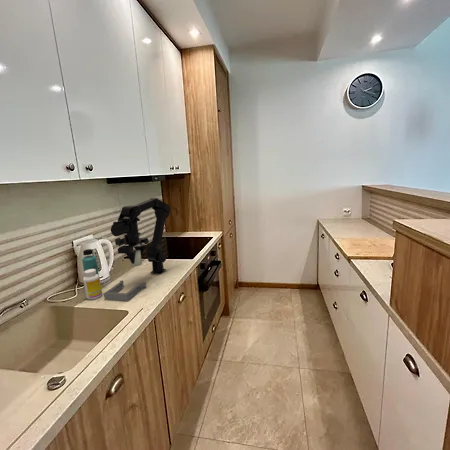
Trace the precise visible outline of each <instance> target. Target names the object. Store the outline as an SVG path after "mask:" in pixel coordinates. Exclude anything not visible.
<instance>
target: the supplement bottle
mask: <svg viewBox="0 0 450 450" xmlns="http://www.w3.org/2000/svg"><path fill="white" fill-rule="evenodd" d="M84 274H85V275H84ZM98 274H99V273H98ZM98 274H96V269H89V270H86V271H84V270H83V275H84V276H85V277H83V279H82V280H83V281H82V282H83V287H84V292H85V297H86V299H87V300H95V299H98V298H101V296H102V295H103V292H102V286H101V285H102V284H101V279H100V274H99V275H98Z"/></svg>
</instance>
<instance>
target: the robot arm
mask: <svg viewBox="0 0 450 450" xmlns="http://www.w3.org/2000/svg"><path fill="white" fill-rule="evenodd" d="M151 208H152V209H151ZM149 209H151V210H152V211H154V217H155V224H154V230H153V234H152V240H151V244H150V245H148V244H149V243H150V242H149V239H148V237H140V235H141V232H140V231H139V223H138V222H140V221H141V219H140V218H139V216H140V215H141V213H143V212H145V211H147V210H149ZM170 214H171V206H170V205H169V204H168V203H166V202H164V201H162V200H160V199H159V198H156V197H154V198H153V197H151V198H149V199H147V200H145V201H142V202H139V203H138V204H133V205H125V206H123V207H121V211H120V212H119V216H118V218H117V221H113V222H112V225H111V227H110V232H111V234H112V236H113V237H115V239H114V244H115V245H116V246H118V248H117V254H119V255H120V254H121V255H123V254H125V255H126V256H127V257H128V259H129V261H130V264H131V263H132V264H134V262H135V255H136V251H134V250H140V253H141V257H143V253H144V251H145V248H146V251H145V257H146V258H147V261H148V262H150V263H151V265H152V266H151V267H152V271H151V272H150V274H158V275H159V274H160V275H162V273H164V272H165V271H166V270H167V269H166V268H164V263H165V262H166V261H167V256H166V255H164V254H163V252H164V251H163V248H162V241H163V234H164V228H165V224H166V220H167V219H168V217H170ZM123 235H124V236H123ZM121 236H123V237H122V238H121ZM116 237H118V238H116Z"/></svg>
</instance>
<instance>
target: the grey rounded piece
mask: <svg viewBox="0 0 450 450" xmlns="http://www.w3.org/2000/svg"><path fill="white" fill-rule="evenodd" d="M134 251H136V255H135V262H134V264H132V263H131V262H130V266H131V267H138V266H141V265H142V264H143V262H142V256H141V253H140V250H136V249H134Z"/></svg>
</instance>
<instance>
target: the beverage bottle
mask: <svg viewBox="0 0 450 450" xmlns="http://www.w3.org/2000/svg"><path fill="white" fill-rule="evenodd" d="M82 253H83V256H84V257H83V258H82V259H81V262H82V268H83V272H84V271H86V270H89V269H96V274H98V275H99V276H100V273H99V268H98V263H97V257H96V256H95V255H93V254H94V252H93V249H92V248H87V249H84V250H83V251H82ZM83 275H84V277H85V274H84V273H83ZM84 277H83V278H84Z"/></svg>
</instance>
